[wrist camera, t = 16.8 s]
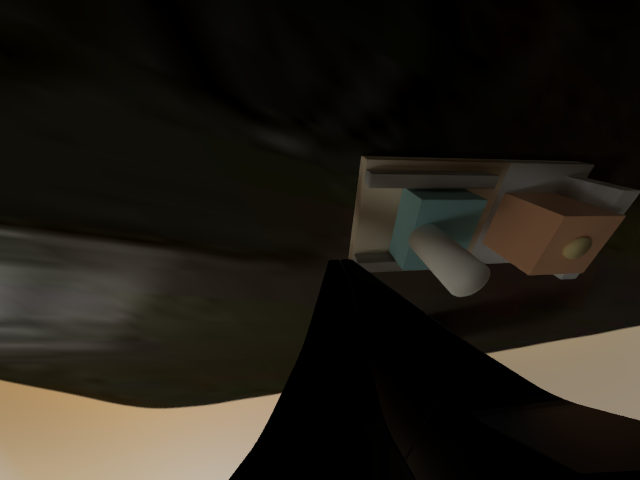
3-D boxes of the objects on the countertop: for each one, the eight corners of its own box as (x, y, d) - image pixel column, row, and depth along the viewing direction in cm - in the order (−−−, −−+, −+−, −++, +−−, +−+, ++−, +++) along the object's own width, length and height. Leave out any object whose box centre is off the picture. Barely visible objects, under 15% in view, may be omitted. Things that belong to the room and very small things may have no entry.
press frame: (361, 155, 18) (387, 172, 14) (575, 161, 21) (660, 176, 16) (348, 259, 23) (363, 298, 18) (522, 254, 26) (576, 286, 21)
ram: (400, 186, 18) (469, 234, 11) (460, 187, 19) (559, 232, 12) (386, 250, 21) (434, 319, 14) (438, 249, 22) (508, 314, 15)
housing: (504, 192, 20) (569, 218, 15) (554, 193, 20) (631, 217, 16) (482, 243, 22) (532, 277, 18) (527, 241, 23) (587, 275, 18)
